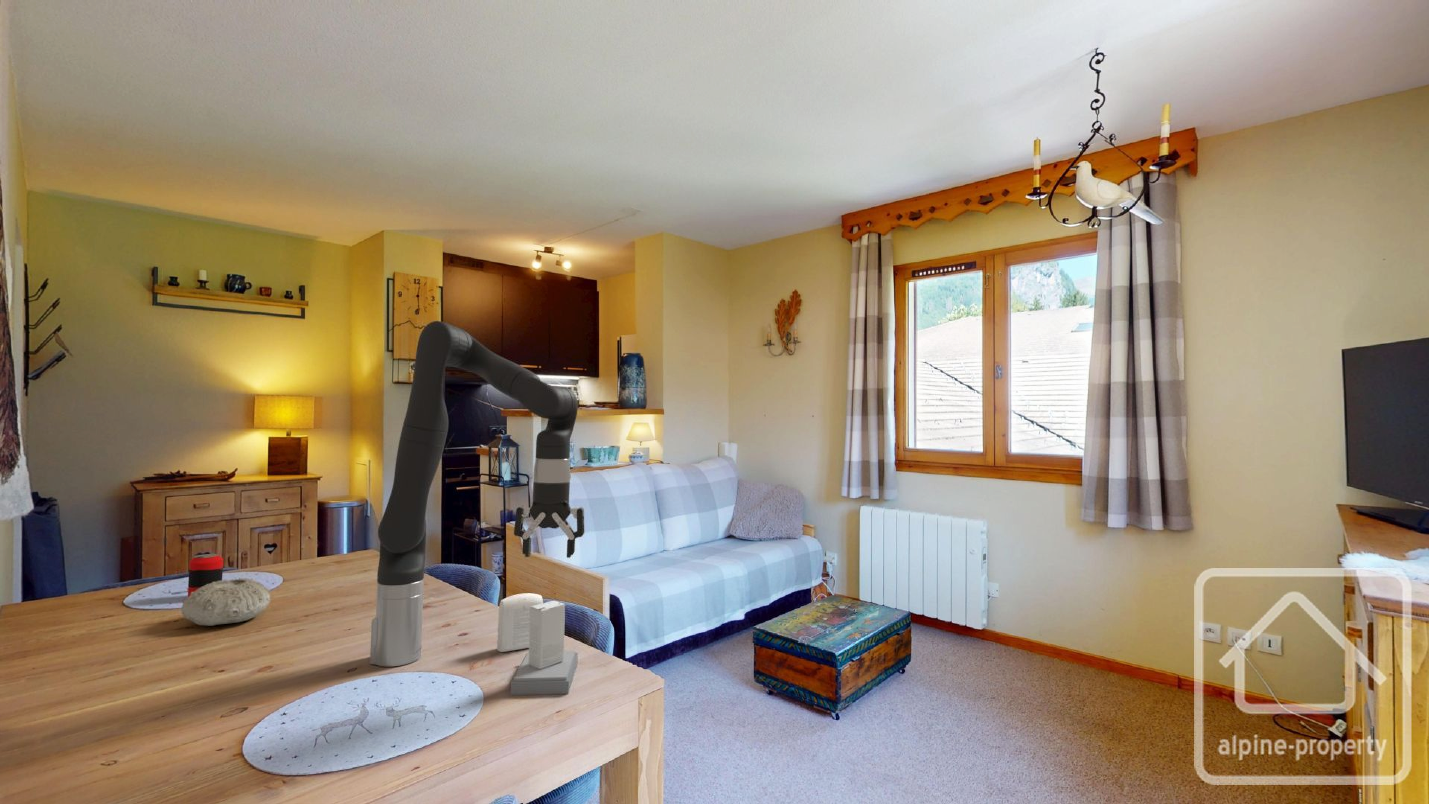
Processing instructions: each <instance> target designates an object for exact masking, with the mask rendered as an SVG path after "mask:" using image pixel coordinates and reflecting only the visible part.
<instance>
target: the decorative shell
mask: <svg viewBox="0 0 1429 804" xmlns="http://www.w3.org/2000/svg"><path fill="white" fill-rule="evenodd" d="M269 591H270V590H269V589H268V588H267V587H266V586H265V585H264V584H263V583H261V582H260V581H257V580H254V579H253V578H251V579H250V578H246V577H245V578H244V577H243V578H241V577H240V578H237V579H230V580H229V579H228V580H227V579H222V581H216V582H212V583H210V584H206V585H205V586H203V587H201V588H199V589H197V590H196V591H194V592H191V594H190V596H189V597H188V596H187V598H186V599H184V600H183V601H182V606H181V614H182V616H183V618H184V619H186V620H189V621H190V622H193V623H194V624H196V625H198V626H208V627H210V626H216V625H217V626H218V625H225V624H235V623H242V622H244V621H249V620H250V619H253V618H255V617H257V616H259V615H260V614H261V613H263V612H264V611H265V610H266V609H267V608H268V606H269V604H270V602H271V594H270V592H269Z"/></svg>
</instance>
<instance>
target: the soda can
mask: <svg viewBox="0 0 1429 804" xmlns="http://www.w3.org/2000/svg"><path fill="white" fill-rule="evenodd" d="M188 566H189V567H188V584H187V598H188V597H189V596H190V594H191V592H194V591H196V590H197V589H199V588H201V587H203V586H205V585H206V584H210V583H212V582H216V581H223V570H224V568H223V567H224V558H223V557H222V556H221V555H220V554H219V553H204V554H198V555H195V556H193V558H192V559H191V560H189V564H188Z"/></svg>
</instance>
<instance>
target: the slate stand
mask: <svg viewBox="0 0 1429 804" xmlns="http://www.w3.org/2000/svg"><path fill="white" fill-rule="evenodd" d="M578 655H579V652H576V650H564V660H563V661H562V662H559V663H556V664H553V665H550V666H548V667H545V668H542V669H538V668H535V667H533V666H531V665H530V664H529V651H527V652H526V654H525V655H524V657H523V659H522V661H521V663H520V665H519V667H518V669H517V671H515V672H516V673H515V674H514V676H513V678H512V680H511V682H510V696H525V695H527V696H529V695H533V696H534V695H564V694H565V695H567V694H568V695H569V693H570V690H571V687H572V683H573V679H574V677H575V674H574V673H576V670H577V667H578V664H577V663H578V657H579V656H578Z"/></svg>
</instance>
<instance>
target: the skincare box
mask: <svg viewBox="0 0 1429 804" xmlns="http://www.w3.org/2000/svg"><path fill="white" fill-rule="evenodd" d="M565 615H566V603H564V602H559V601H558V600H557V601H556V600H551V601H550V600H549V601H546V602H543V603H542V604H538V605H534V606H531V607H530V627H529V648H528V652H529V664H530V665H531V666H533V667H535V668H538V669H542V668H545V667H548V666H550V665H553V664H556V663H559V662H562V661H563V660H564V651H565V620H566V619H565V618H566V616H565Z"/></svg>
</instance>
